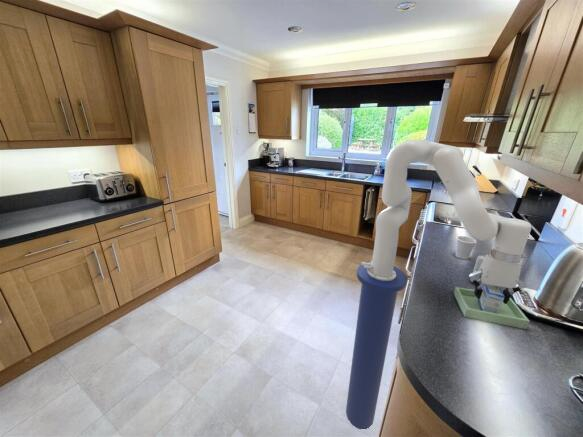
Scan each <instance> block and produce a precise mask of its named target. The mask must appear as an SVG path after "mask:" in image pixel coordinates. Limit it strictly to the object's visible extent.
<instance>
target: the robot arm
mask: <svg viewBox="0 0 583 437" xmlns="http://www.w3.org/2000/svg"><path fill="white" fill-rule="evenodd" d="M415 163H423V164H425V165H430V166H432V167H433V168H434V170H435V172H436V173H437V175H438V177H439V179H440V180H441V182H442V183H443V185H444V187H445V189H446V191H447V192H448V194H449V196H450V199H451V202H452V205H453V206H454V209H455V211H456V214H457V216H458V218H459V220H460V222H461V224H462V225H463V227H464V228H465V230H466V232H467V233H468V234H469V237H470V238H473V239H475V240H476V241H480V242H486V241H491V240H493V239H494V241H493V245H492V248H491V250H490V253H487V254H486V255H485V256H486V257H485V258H484V260H483V262H482V264H481V266H480V268H479V271H478V272H475V273H473V272H472V273H469V274H468V277H469V279H470V281H471V280H472V282H473V283H472V282H471V283H472V284H473V285H474V286H475V287H474V289H473V290H474V294H475V296H476V297H477V299H480V298H481V295H482V291H483V290H482V288H483V287H484V286H485V285H487V284H488V285H494V286H499V287H500V288H504V289H503V290H502V293H503V295H504V300H503V303H504V304H507V302H508V301H509V300H510V298H511V296H512V295H513V296H514V294H516V293H517V292H520V291H521V290H522V289H525V288H527V284H525V283H524V281H522V280H521V279H520V276H521V270H522V262H521V260H522V259H526V258H527V255H526V253H524V250H525V247H526V245H527V241H528V240H529V237H530V234H531V231H532V225H531V223H530V222H528V221H526V220H523V219H519V218H514V217H513V218H512V217H506V216H501V215H499V214H495V213H491V212H488V211H487V209H486V207H485V205H484V203H483V201H482V198H481V195H480V188H479V184H478V182H477V180H476V178H475V177H474V175H473V174H472V172H471V170H470V169H469V167H468V165H467V163H466V161H465V159H464V153H463V151H462V150H461V149H460V148H459V147H457V146H454V145H449V144H444V143H440V142H434V141H430V140H426V139H410V140H406V141H403V142H401V143H399V144H397V145H396V146H394V147H392V149H391V150H390V151H389V153H388V154H387V156H386V159H385V165H384V174H383V182H382V188H381V201H382V202H383V204H384V205H385V206H387V208H384V209H383V210H382V211H380V212H379V213H378V215H377V216H376V219H375V236H374V245H373V250H372V251H373V252H372V258H371V260H370V261H368V262H369V263H366V262H367V261H361V264H362V265H361V264H360V265H361V266H364V268H365V269H368V270H367V272H368V274H369V275H370V276H371V277H373V278H374V279H377V280H380V281H391V280H394V279H395V278H396V273H395V271H394V270H393V268H394V266H395V261H396V256H397V251H398V246H399V236H400V235H399V232H400V231H399V230H400V227H401V226H402V225H403V224H405V223H406V222H407V220H408V218H409V214H410V209H411V202H412V195H413V193H412V188H411V185H410V184H409V183H408V182H407V178H408V167H409V165H412V164H415ZM370 262H371V263H370ZM476 277H479V278H480V279H479V280H478V281H476V279H475V278H476Z"/></svg>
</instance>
